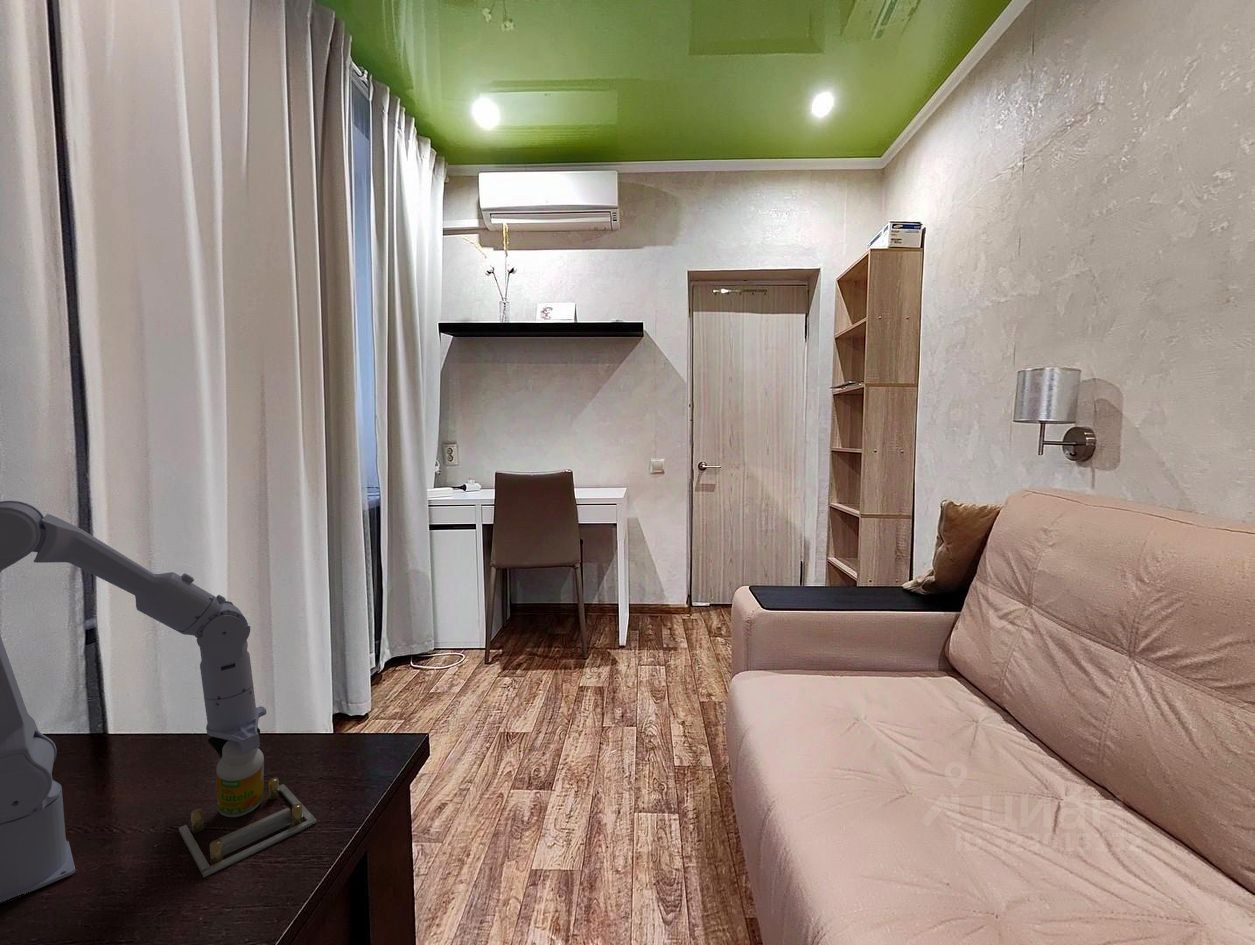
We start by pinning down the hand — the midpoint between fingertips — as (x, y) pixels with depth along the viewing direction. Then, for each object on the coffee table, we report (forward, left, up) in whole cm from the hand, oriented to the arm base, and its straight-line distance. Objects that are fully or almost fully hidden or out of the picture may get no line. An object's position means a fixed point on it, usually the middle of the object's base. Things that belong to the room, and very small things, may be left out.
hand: (240, 780), depth 82 cm
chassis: (-1, -8, -3) cm, 8 cm away
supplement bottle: (-1, -2, -2) cm, 3 cm away
